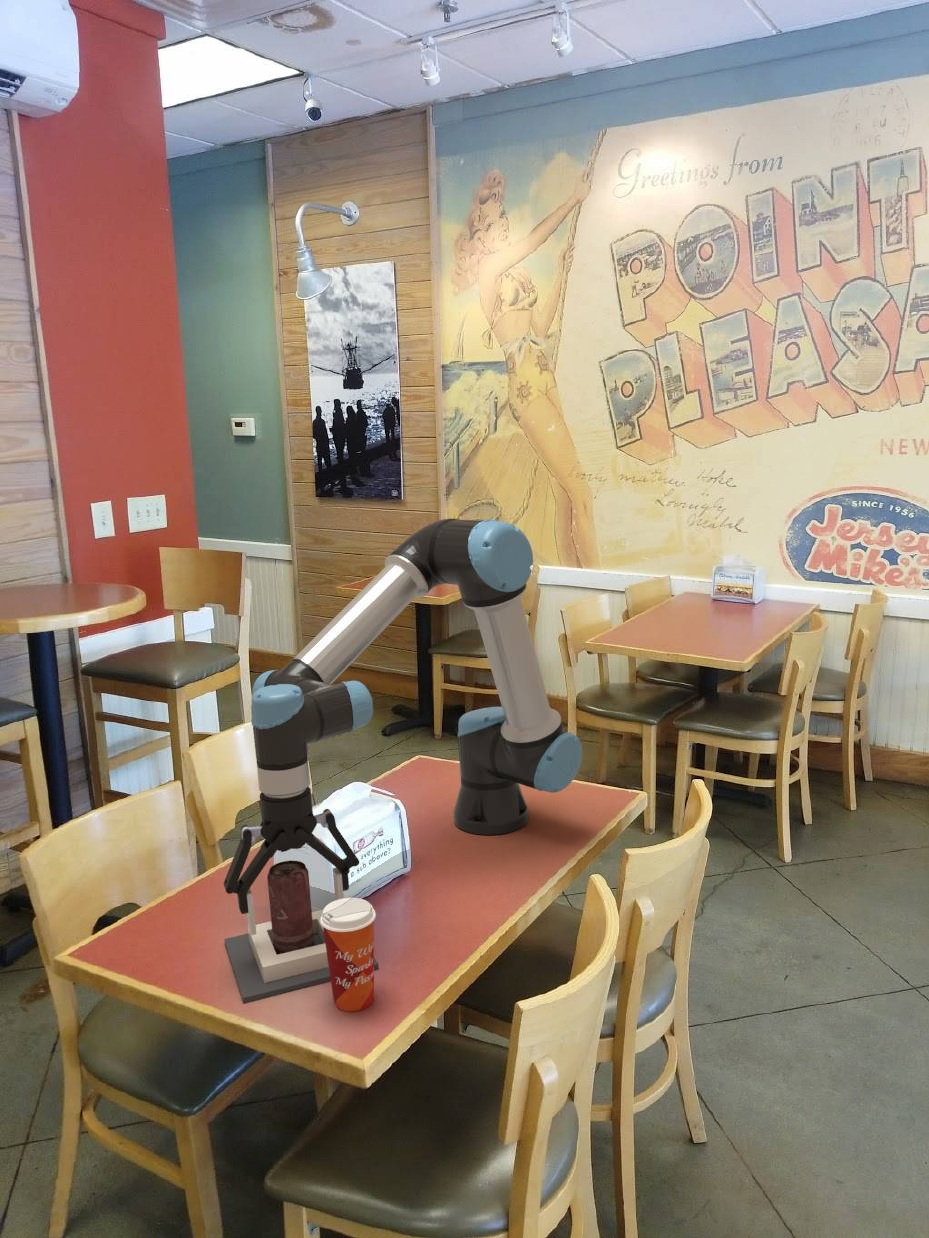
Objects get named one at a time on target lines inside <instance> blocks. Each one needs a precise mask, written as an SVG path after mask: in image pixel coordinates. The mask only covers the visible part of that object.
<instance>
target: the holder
mask: <svg viewBox="0 0 929 1238" xmlns="http://www.w3.org/2000/svg"><path fill="white" fill-rule="evenodd" d="M323 910H324V908H323V909H319V910H316V911H312V922H313V934H317V933H318V934H319V936H320V938H321V940H322V942H323V943H324V944H320V945H316V946H312V947H308V948H304V949H299V950H295V951H291V952H287V953H283V954H278V955H276V952H275V950H274V947H273V945H272V944H273V934H272V923H271V921H266V922H262V923H258V924H257V923H256V924H255V926H256V934H255V935H251V933H250V930H249V928H248V927H247V934H248V935H249V942H250V945H251V948H252V950H253V953H254V956H255V959H256V962H257V964H258V967H259V970H260V973H261V975H262V978H263V981H264V983H266V982H270V981H274V980H278V979H282V978H286V977H290V976H295V975H299V974H303V973H307V972H311V971H315V970H319V969H323V968H327V967H329V966H328V959H327V951H326V943H325V936H324V929H323V926H322V925H321V923H320V918H321V916H322V914H323Z"/></svg>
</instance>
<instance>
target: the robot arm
mask: <svg viewBox="0 0 929 1238" xmlns="http://www.w3.org/2000/svg"><path fill="white" fill-rule="evenodd" d="M533 554H534V553H533V549H532V547H531V544H530V541H529V539H528V538H527V536H526V535H525V533H524V532H523V531H522V530H521V529H520V528H519V527H518V526H515V525H514V524H512V523H510V522H503V521H500V520H495V519H485V520H481V519H461V518H460V519H459V518H443V519H439V520H435V521H433V522H431V523H429V524H427V525H424V527H422V528H420V529H419V530H418V531H416V532H414V533H413V534H412V535H410V536H409V537H408V538H406V539H405V540H404V541H403V542H402V543H401V544H399V545H398V546H397V547H396V548H395V549H394V550H393V551H392V552H391V553H390V554H388V556H387V557H385V561H384V568H383V569H382V570H381V571H380V572H379V573H378V574H377V575H376V576H375V577H374V578H373V579H372V580H370V582H369V583H368V584H366V586H364V587H363V588H362V590H361V591H360V592H358V594H357V595H356V596H355V597H353V599H351V601H349V603H348V604H347V605H346V606H345V607H344V608H343V609H342V610H340V611H339V612H338V614H337V615H336V616H335V617H333V619H332V620H331V621H330V622H329V623H327V624H326V626H325V627H324V628H323V629H322V630H320V632H318V633H317V635H316V636H315V637H313V638H312V640H310V642H309V643H308V644H307V645H306V646H304V647H303V649H302V650H300V651H299V652H298V653H297V655H296V656H294V657H293V658H292V659H291V660H290V661H289V662H288V663H287V664H286V665H285V666H284V667H282V669H275V670H274V669H273V670H272V669H271V670H268V671H265V672H263V673H261V674H260V675H259V676H258V677H257V678H256V680H255V682H254V683H253V687H252V693H251V695H252V696H251V699H250V700H251V706H250V709H251V721H250V723H251V725H252V731H253V733H252V734H253V742H254V749H255V760H256V768H257V769H256V771H257V781H258V789H259V790H258V791H259V792H260V794H259V803H260V812H261V813H260V814H261V822H260V824H259V826H249V825H248V824H244V825H242V826H241V827H240V840H239V843H238V845H237V848H236V851H235V854H234V855H233V858H232V860H231V863H230V866H229V869H228V871H227V873H226V877H225V878H224V881H223V887H224V889H225V892H226V893H227V894H228V895H231V894H237V903H238V908H239V912H240V913H241V914H242V915H245V914H246V920H247V929H248V928H249V930H250V933H251V935H255V934H256V926H255V925H256V918H255V907H254V898H253V893H252V890H251V887H252V886H253V884H254V882H255V881H256V880H257V878H258V876H259V875H260V874H261V872H262V871H263V869H264V868H265V867H266V865H267V863H268V862H269V860H270V859H272V858H273V857H274V855H275V854H276V853H277V851H280V852H281V853H283V852H287V851H290V850H292V849H293V850H297V849H302V848H303V846H304V845H308V846H309V847H310V848H311V849H313V850H314V851H316V852H317V853H318V854H319V855H321V856H322V857H323V858H325V860H327V861H328V862H329V863H331V865H333V866H334V867H332V877H333V880H332V881H333V891H334V901H335V900H339V899H343V898H345V897H344V892H345V891H349V888H350V883H349V873H350V872H351V871H350V869H351V868H353V867H358V866H359V864H360V860H359V858H358V857H357V855H356V854H355V853H354V851H353V849H352V848H351V847H350V845H349V844H348V842H347V841H346V839H345V837H344V836H343V834H341V832H340V830H339V828H338V827H337V822H336V818H335V816H334V814H333V812H332V811H331V809H329V808H324V810H323V811H322V813H319V814H315V815H314V811H313V803H312V789H311V787H309V786H310V785H311V777H310V769H309V756H308V755H309V753H308V751H309V750H308V749H309V748H308V745H309V744H314V743H317V742H319V741H323V740H326V739H329V738H332V737H336V736H340V735H342V734H346V733H352V732H353V731H354V730H357V729H359V728H362V727H364V726H366V725H367V724H369V723H370V721H371V720H372V717H373V714H374V705H373V704H374V703H373V702H374V701H373V697H372V695H371V693H370V691H369V689H368V688H367V686H366V685H365V684H363V683H362V682H360V681H358V680H350V681H341V682H339V683H337V684H333V683H334V682H335V681H336V680H337V679H338V678H339V677H340V676H341V675H342V674H343V673H344V671H345V670H346V669H348V667H349V666H351V664H353V662H354V661H355V660H356V659H357V658H358V657H359V656H360V655H362V653H363V652H364V651H365V650H366V649H367V648H368V647H369V646H370V645H371V644H372V643H373V641H375V640H376V638H378V636H379V635H380V634H382V632H383V631H384V630H385V629H386V628H387V627H388V626H389V625H390V624H391V623H392V622H393V621H394V620H395V619H396V618H397V617H398V616H399V615H400V614H401V613H402V612H403V611H404V610H405V608H407V607H408V606H409V604H410V603H412V601H414V599H415V598H419V599H420V598H424V597H425V596H426V595H427V594H428V593H429V592H430V591H431V590H432V589H434V588H435V587H437V586H439V585H444V584H448V585H454V586H457V587H458V590H459V591H458V592H459V593H460V597H461V600H462V605H464V606H465V607H466V608H469V609H471V610H473V611H474V613H475V618H476V621H477V624H478V628H479V631H480V635H481V639H482V643H483V645H484V649H485V653H486V655H487V660H488V664H489V666H490V670H491V674H492V676H493V680H494V683H495V687H496V691H497V693H498V697H499V701H500V705H501V706H490V707H484V708H483V707H482V708H477V709H475V710H470V711H468V712H466V713H463V714H462V716H460V717H459V719H458V726H457V727H458V728H457V729H458V732H457V742H458V743H457V744H458V757H459V771H460V772H459V774H460V788H459V791H458V794H457V798H456V802H455V805H454V809H453V822H454V825H455V827H457V828H458V829H459V830H461V831H464V832H467V833H469V834H474V835H484V836H485V835H486V836H487V835H489V836H490V835H491V836H492V835H494V836H495V835H501V834H502V835H503V834H509V833H512V832H514V831H517V830H520V829H521V828H523V827H524V826H526V825H527V823H528V821H529V809H528V808H529V807H528V804H527V802H526V799H525V797H524V794H523V792H522V789H521V787H520V786H521V785H522V786H525V787H528V788H530V789H533V790H537V791H539V792H542V791H543V792H548V793H559V792H561V791H563V790H564V789H566V788H567V787H568V786H569V785H570V784H571V783H572V782H573V781H574V779H575V778H576V776H577V774H578V772H579V769H580V767H581V763H582V758H583V747H582V743H581V740H580V738H579V737H578V736H576V735H575V734H573V732H567V731H565V728H564V725H563V723H564V722H563V721H562V717H561V714H560V712H558V710H556V709H554V708H551V707H550V706H551V705H550V702H549V699H548V696H547V694H548V693H547V691H546V688H545V684H544V679H543V676H542V673H541V669H540V665H539V661H538V660H539V659H538V657H537V654H536V650H535V646H534V642H533V639H532V635H531V630H530V627H529V623H528V620H527V616H526V612H525V608H524V604H523V601H522V596H523V595H524V593H525V592H526V590H527V587H528V586H527V582H528V581H529V580H530V577H531V575H532V572H533V570H532V569H531V566H533V565H534V555H533ZM317 824H320V825H321V827H322V828H324V829H325V828H327V830H328V832H329V833H330V834H331V836H332V837H333V838H334V840H335V842H336V844H338V846H339V847H340V849H341V851H342V852H343V853H344V855H345V857H344V858H342V857H340V856H339V855H338V854H337V853H336V852H334V851H333V850H332V849H331V848H330V847H328V845H326V844H325V843H324V842H323V841H321V840H320V839H319V838H318V837H317V836H315V834H313V832H314V830H315V828H316V827H317ZM259 836H261V837H262V838H263V839H264V840H263V842H262V843H261V846H260V849H259V850H258V851H257V853H256V854H255V855H254V857H253V858H252V860H251V861H250V863H249V865H248V866H247V867H246V869H245V870H244V872H243V869H244V866H245V864H246V861H247V859H248V856H249V855H250V851H251V849H252V843H254V842H256V840H257V838H258V837H259ZM242 872H243V873H242ZM241 873H242V875H241Z"/></svg>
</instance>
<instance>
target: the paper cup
mask: <svg viewBox="0 0 929 1238" xmlns="http://www.w3.org/2000/svg"><path fill="white" fill-rule="evenodd" d="M323 909H324V910H323ZM323 909H322V910H323V914H322V916H321V918H320V923H321V925H322V926H323V929H324V936H325V943H326V951H327V959H328V966H329V972H330V978H331V981H330V985H331V991H332V997H333V1001H334V1005H335V1007H336V1008H337V1009H338V1010H340V1011H344V1012H349V1013H351V1012H359V1011H363V1010H366V1009H367V1008H369V1007H370V1006H371V1005H372V1003H373V1002H374V997H375V970H374V958H375V946H374V945H375V944H374V943H375V940H374V938H375V934H374V930H375V928H374V927H375V926H374V923H375V922H374V921H375V920H376V917H377V916H376V915H377V914H376V910H375V909H374V907H373V905H372V903H370V902H369V901H367V900H366V899H363V898H359V897H344V898H343V899H339V900H335V899H334V900H333V901H330V902H329V903H328V904H327V905H326V906H325V907H324V908H323Z"/></svg>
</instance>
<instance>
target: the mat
mask: <svg viewBox="0 0 929 1238" xmlns="http://www.w3.org/2000/svg"><path fill="white" fill-rule="evenodd" d="M223 940H224V946H225V950H226V952H227V956H228V959H229V962H230V965H231V969H232V972H233V975H234V978H235V980H236V984H237V988H238V990H239V994H240V997H241V1000H242V1002H243V1003H242V1004H246V1003H249V1002H254V1001H258V1000H261V999H265V998H269V997H273V996H278V995H282V994H285V993H289V992H293V991H296V990H300V989H305V988H308V987H309V988H310V987H312V986H316V985H320V984H324V983H328V982H331V978H330V972H329V967H327V968H323V969H319V970H315V971H311V972H307V973H303V974H299V975H295V976H290V977H286V978H282V979H278V980H274V981H270V982H266V983H264V981H263V978H262V975H261V973H260V970H259V967H258V964H257V962H256V959H255V956H254V953H253V950H252V948H251V945H250V942H249V935H248V933H244V934H241V935H236V936H232V937H231V936H230V937H228V938H224V939H223ZM320 944H324V943H323V942H322V940H321V938H320V936H319V934H318V933H317V934H314V946H316V945H320ZM272 945H273V944H272ZM273 947H274V945H273ZM375 970H379V963H378V961H377V959H375V957H374V971H375Z"/></svg>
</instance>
